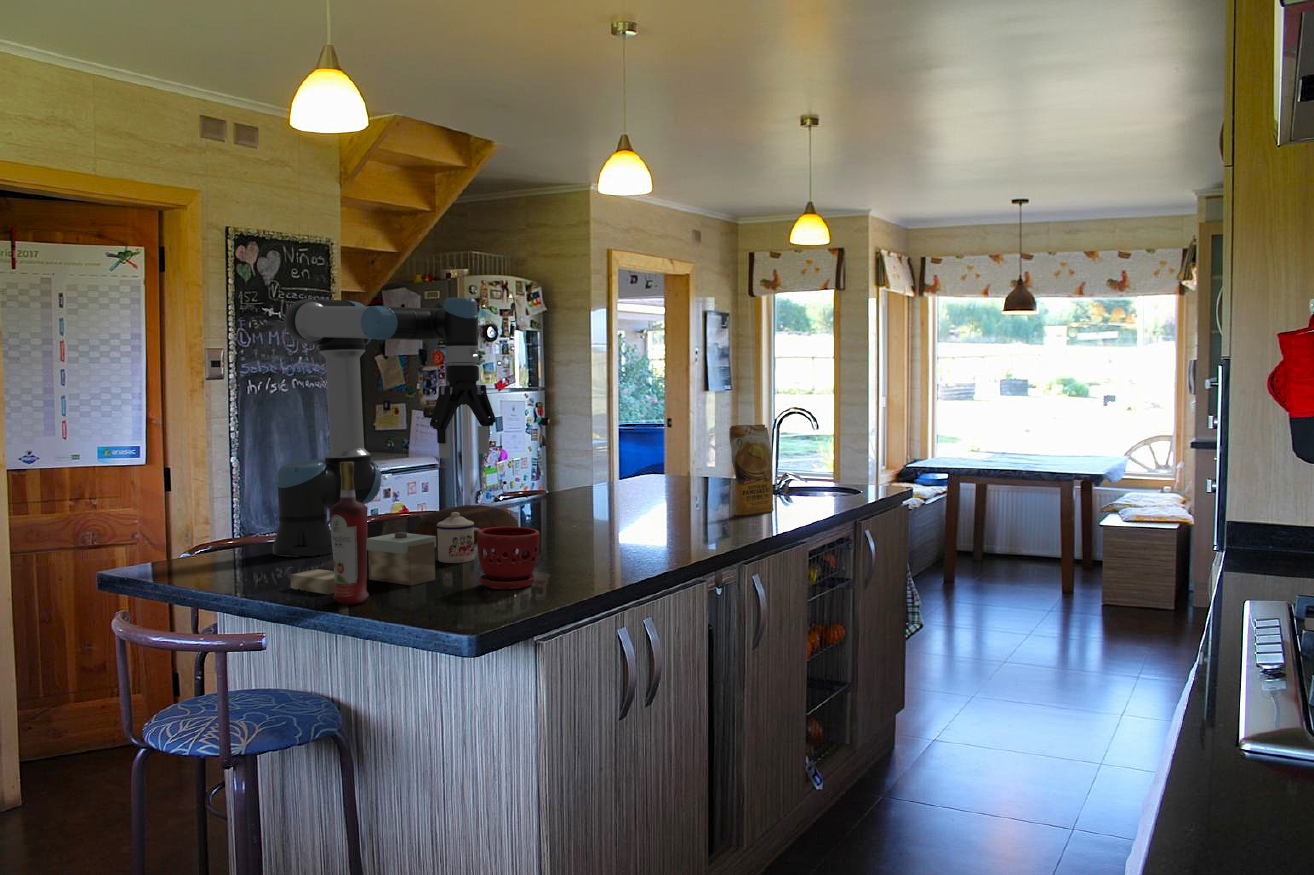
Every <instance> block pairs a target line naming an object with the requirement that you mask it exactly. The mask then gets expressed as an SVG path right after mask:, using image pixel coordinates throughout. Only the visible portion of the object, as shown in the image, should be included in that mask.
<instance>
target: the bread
mask: <svg viewBox="0 0 1314 875" xmlns="http://www.w3.org/2000/svg"><path fill="white" fill-rule="evenodd" d="M453 512H458V513H459V516H461V517H464V518H465V519H467V520H470V521H473V523H474V525H475V526H474V528H479V529H480V530H481V529H484V528H492V527H520V526H519V522H518V520H517V519H516V518H515V516H513V515H512V514H511V513H509V512H508V511H506V510H504V509H501V508H498V507H493V506H489V505H482V504H481V505H480V504H478V505H477V504H472V505H471V504H465V505H460V506H459V505H458V506H453V507H452V506H451V507H447V508H443V509H441V510H437V511H436V512H432V513H430V514H428V515H426V516H424V517H423V518H422V519H420V520H419V521H418V522H417V524H416V525H415V528H414V531H415V534H420V535H429V536H436V543H438V533H437V527H436V526H437V524H438V523H439V522H441V521H444V520H445V519H446V518H448V517H452V516H451V513H453ZM477 538H478V532H477V531H474V544H476V543H477Z"/></svg>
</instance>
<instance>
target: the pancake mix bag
mask: <svg viewBox="0 0 1314 875" xmlns="http://www.w3.org/2000/svg"><path fill="white" fill-rule="evenodd" d="M728 433H729V444H730V449H731V463H732V467H733V471H734V474H735V476H734V477H735V492H736V508H735V516H752V515H762V514H768V513H769V514H770V513H773V511H774V486H773V484H774V483H773V482H774V481H773V478H774V476H773V475H774V474H773V473H774V472H773V469H774V466H773V456H772V448H771V442H770V435H769V430H768V427H766V424H762V423H761V424H736V425H731V426H730V427H729V432H728Z"/></svg>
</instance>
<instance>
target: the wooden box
mask: <svg viewBox="0 0 1314 875" xmlns="http://www.w3.org/2000/svg"><path fill="white" fill-rule="evenodd" d="M367 551H368V554H367V555H368V579H369V580H370V581H371V580H372V581H376V582H377V581H378V582H384V583H391V584H397V585H398V584H399V585H405V586H415V585H420V584H423V583H428V582H429V583H430V582H432V581H436V560H435V559H436V556H435V555H436V554H435V547H434V541H432V542H426V543H421V544H416V545H411V546H409V553H405V554H399V553H391V552H382V551H374V550H367Z"/></svg>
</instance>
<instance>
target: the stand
mask: <svg viewBox="0 0 1314 875" xmlns="http://www.w3.org/2000/svg"><path fill="white" fill-rule="evenodd" d="M289 577H290V589H291V588H292V590H298V589H300V590H299V591H304V590H305V592H311V593H318V594H324V595H331V594H335V577H334V570H328V569H327V570H326V569H321V568H320V569H319V568H316V569H311V570H306V571H301V572H300V571H299V572H297V573H290V574H289Z"/></svg>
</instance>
